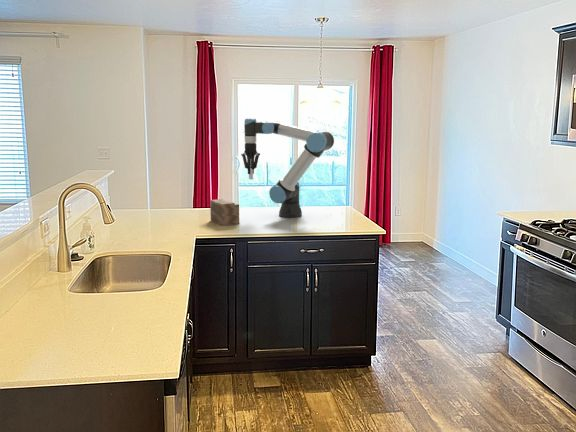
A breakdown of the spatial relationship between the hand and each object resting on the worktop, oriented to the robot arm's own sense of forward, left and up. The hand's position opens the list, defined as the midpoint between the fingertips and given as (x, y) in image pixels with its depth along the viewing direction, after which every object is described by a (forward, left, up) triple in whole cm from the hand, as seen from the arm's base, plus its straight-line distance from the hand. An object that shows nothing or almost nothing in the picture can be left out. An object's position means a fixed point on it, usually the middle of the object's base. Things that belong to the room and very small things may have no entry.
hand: (250, 179), depth 379 cm
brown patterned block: (+25, +11, -24) cm, 37 cm away
